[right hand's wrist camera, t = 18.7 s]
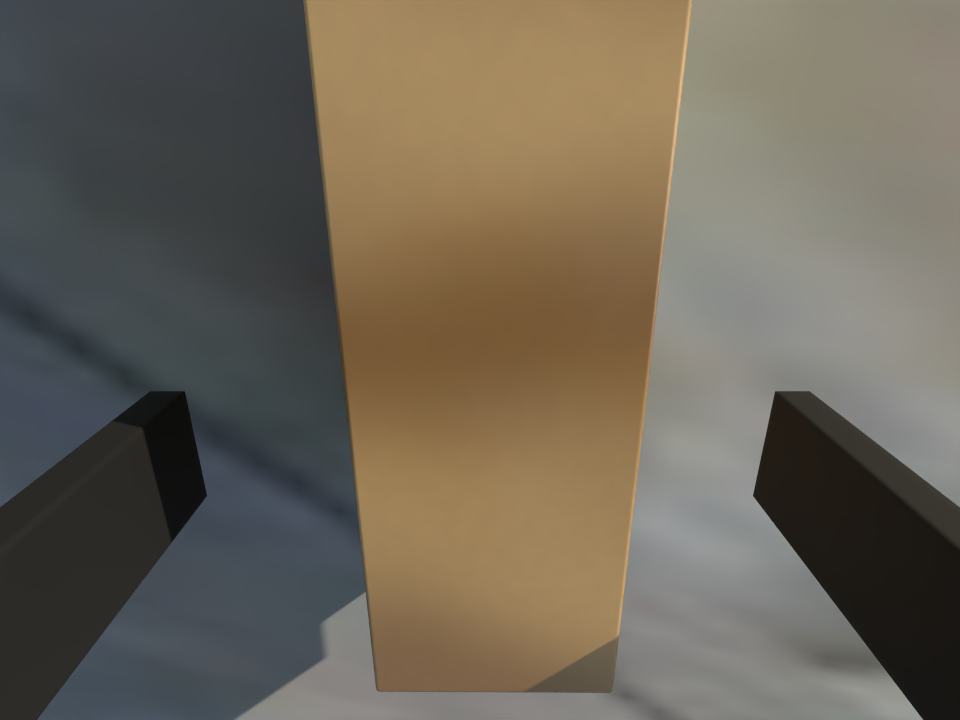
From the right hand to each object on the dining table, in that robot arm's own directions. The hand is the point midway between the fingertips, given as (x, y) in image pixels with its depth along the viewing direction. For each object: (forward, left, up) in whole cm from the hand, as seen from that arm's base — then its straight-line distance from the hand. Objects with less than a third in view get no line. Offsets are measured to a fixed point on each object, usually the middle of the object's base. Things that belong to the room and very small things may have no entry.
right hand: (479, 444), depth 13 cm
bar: (+8, +1, -5) cm, 10 cm away
